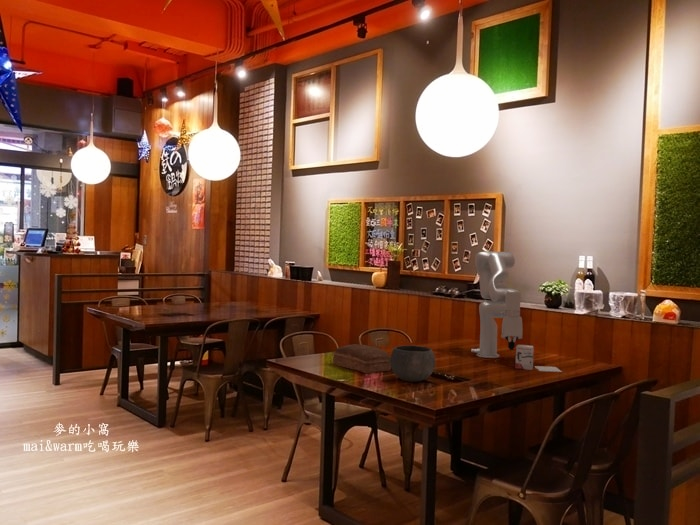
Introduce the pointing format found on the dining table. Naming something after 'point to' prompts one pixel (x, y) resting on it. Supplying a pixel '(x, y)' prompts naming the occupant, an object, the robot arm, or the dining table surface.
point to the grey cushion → (362, 358)
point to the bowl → (412, 362)
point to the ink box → (524, 357)
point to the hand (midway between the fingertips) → (511, 349)
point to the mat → (547, 369)
